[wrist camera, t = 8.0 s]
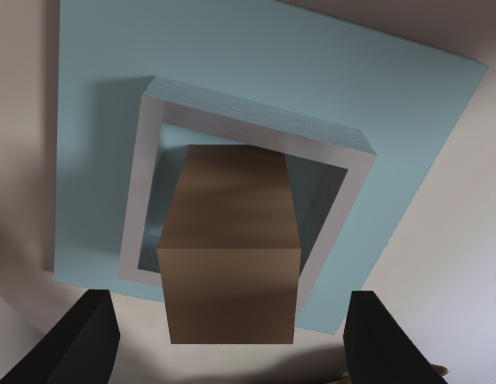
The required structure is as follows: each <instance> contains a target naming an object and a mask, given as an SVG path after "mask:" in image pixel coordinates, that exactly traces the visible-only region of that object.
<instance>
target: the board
mask: <svg viewBox="0 0 496 384" xmlns="http://www.w3.org/2000/svg"><path fill="white" fill-rule="evenodd" d="M488 67H489V66H487V65H485V64H483V63H481V62H479V61H476V60H473V59H470V58H467V57H464V56H460V55H457V54H454V53H450V52H447V51H444V50H440V49H437V48H434V47H431V46H427V45H424V44H421V43H417V42H414V41H411V40H408V39H404V38H401V37H398V36H394V35H391V34H388V33H385V32H381V31H378V30H375V29H371V28H368V27H365V26H361V25H358V24H355V23H352V22H348V21H345V20H342V19H338V18H335V17H332V16H329V15H325V14H322V13H319V12H315V11H312V10H309V9H305V8H302V7H299V6H296V5H292V4H289V3H286V2H282V1H279V0H60V31H59V75H58V118H57V161H56V205H55V248H54V282H58V283H63V284H68V285H74V286H79V287H84V288H89V289H109V291H110V292H111V293H116V294H121V295H127V296H132V297H137V298H142V299H148V300H153V301H158V302H164V303H165V301H164V294H163V288H162V287H158V286H153V285H148V284H143V283H138V282H132V281H127V280H122V279H117V275H118V268H119V261H120V253H121V246H122V238H123V231H124V223H125V216H126V209H127V201H128V194H129V186H130V179H131V171H132V164H133V156H134V149H135V142H136V134H137V127H138V119H139V112H140V104H141V97H142V94H143V93H144V91H145V90H146V89H147V87H148V86H149V85H150V83H151V82H152V81H153V79H154V78H155V77H156V76H161V77H165V78H169V79H172V80H176V81H180V82H184V83H187V84H191V85H195V86H199V87H203V88H206V89H210V90H214V91H218V92H221V93H225V94H229V95H233V96H236V97H240V98H244V99H248V100H251V101H255V102H259V103H263V104H267V105H270V106H274V107H278V108H282V109H285V110H289V111H293V112H297V113H300V114H304V115H308V116H312V117H315V118H319V119H323V120H327V121H331V122H334V123H338V124H342V125H346V126H349V127H353V128H357V129H361V130H362V132H363V134H364V135H365V137H366V138H367V140H368V141H369V143H370V144H371V146H372V148H373V149H374V151H375V152H376V154H377V155H378V156H377V158H376V160H375V162H374V164H373V166H372V168H371V170H370V172H369V174H368V176H367V178H366V180H365V183H364V185H363V187H362V189H361V191H360V193H359V195H358V197H357V199H356V201H355V203H354V205H353V207H352V209H351V211H350V213H349V215H348V217H347V219H346V221H345V224H344V226H343V228H342V230H341V232H340V234H339V236H338V238H337V240H336V242H335V244H334V246H333V248H332V250H331V252H330V254H329V256H328V258H327V260H326V263H325V265H324V267H323V269H322V271H321V273H320V275H319V277H318V279H317V281H316V283H315V285H314V287H313V289H312V291H311V293H310V295H309V297H308V299H307V302H306V304H305V306H304V308H303V310H302V312H301V314H298V313H296V314H295V325H294V327H296V328H301V329H307V330H312V331H317V332H323V333H328V334H333V335H335V333H336V332H337V330H338V328H339V326H340V325H341V323H342V321H343V319H344V318H345V316H346V314H347V312H348V308H349V303H350V298H351V292H352V291H360V290H361V288H362V286H363V284H364V283H365V281H366V279H367V278H368V276H369V274H370V272H371V271H372V269H373V267H374V265H375V264H376V262H377V260H378V258H379V257H380V255H381V253H382V251H383V250H384V248H385V246H386V244H387V243H388V241H389V239H390V237H391V236H392V234H393V232H394V230H395V229H396V227H397V225H398V224H399V222H400V220H401V218H402V217H403V215H404V213H405V211H406V210H407V208H408V206H409V204H410V203H411V201H412V199H413V197H414V196H415V194H416V192H417V190H418V189H419V187H420V185H421V183H422V182H423V180H424V178H425V176H426V175H427V173H428V171H429V170H430V168H431V166H432V164H433V163H434V161H435V159H436V157H437V156H438V154H439V152H440V150H441V149H442V147H443V145H444V143H445V142H446V140H447V138H448V136H449V135H450V133H451V131H452V129H453V128H454V126H455V124H456V122H457V121H458V119H459V117H460V115H461V114H462V112H463V110H464V109H465V107H466V105H467V103H468V102H469V100H470V98H471V96H472V95H473V93H474V91H475V89H476V88H477V86H478V84H479V82H480V81H481V79H482V77H483V75H484V74H485V72H486V70H487V68H488ZM189 144H246V143H242V142H238V141H234V140H230V139H226V138H222V137H218V136H214V135H210V134H206V133H202V132H198V131H194V130H190V129H186V128H182V127H178V126H174V125H170V124H169V128H168V134H167V139H166V145H165V151H164V156H163V162H162V168H161V173H160V179H159V184H158V190H157V196H156V201H155V207H154V213H153V218H152V224H151V229H150V234H151V235H156V236H161V233H162V230H163V227H164V223H165V220H166V217H167V214H168V211H169V208H170V204H171V201H172V198H173V195H174V192H175V188H176V185H177V182H178V179H179V176H180V172H181V169H182V166H183V163H184V160H185V156H186V153H187V150H188V147H189ZM284 155H285V161H286V166H287V172H288V177H289V183H290V189H291V194H292V200H293V205H294V211H295V217H296V222H297V228H298V231H299V229H300V227H301V224H302V222H303V219H304V217H305V215H306V212H307V210H308V208H309V205H310V203H311V200H312V198H313V196H314V193H315V191H316V188H317V186H318V184H319V181H320V179H321V176H322V174H323V172H324V169H325V167H326V165H327V164H326V163H322V162H318V161H314V160H310V159H306V158H302V157H298V156H294V155H290V154H286V153H284Z"/></svg>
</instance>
